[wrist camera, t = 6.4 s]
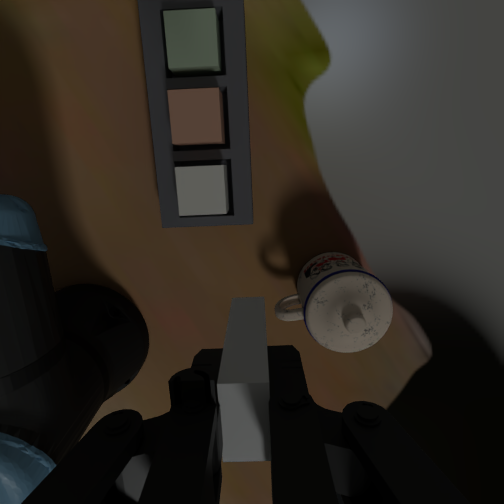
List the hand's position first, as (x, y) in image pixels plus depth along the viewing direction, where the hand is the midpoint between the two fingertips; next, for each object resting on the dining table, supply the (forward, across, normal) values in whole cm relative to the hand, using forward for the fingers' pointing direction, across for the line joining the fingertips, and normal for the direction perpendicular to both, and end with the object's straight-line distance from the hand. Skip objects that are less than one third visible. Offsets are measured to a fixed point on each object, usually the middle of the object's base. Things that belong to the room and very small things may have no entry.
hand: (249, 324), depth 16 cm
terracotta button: (+23, +5, -12) cm, 27 cm away
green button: (+25, +5, -19) cm, 32 cm away
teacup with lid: (+27, -8, +8) cm, 29 cm away
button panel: (+26, +5, -12) cm, 29 cm away
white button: (+23, +5, -5) cm, 24 cm away
